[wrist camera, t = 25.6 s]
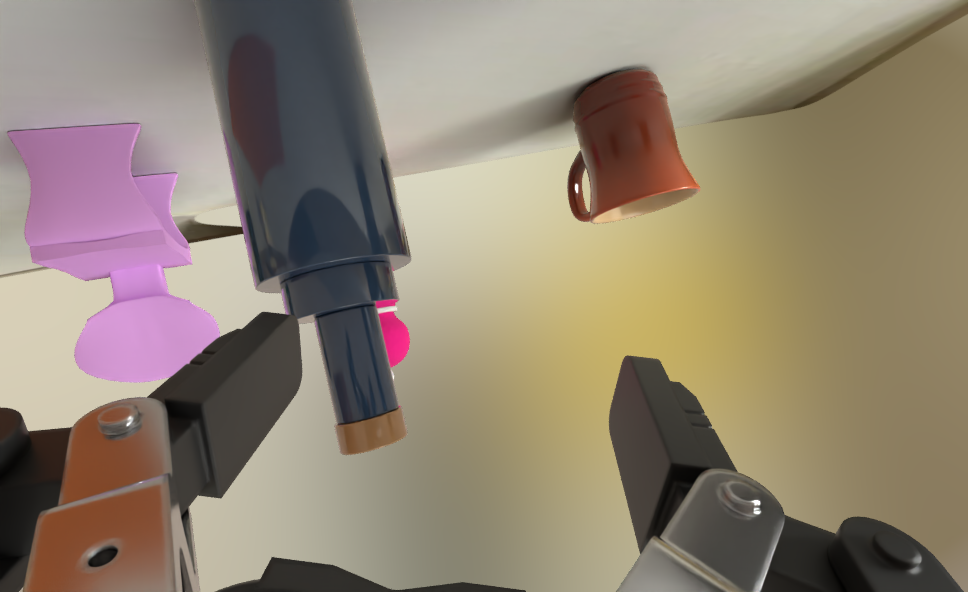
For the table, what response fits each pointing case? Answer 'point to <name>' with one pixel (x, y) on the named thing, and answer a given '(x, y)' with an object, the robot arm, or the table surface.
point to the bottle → (314, 189)
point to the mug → (626, 150)
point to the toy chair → (113, 248)
